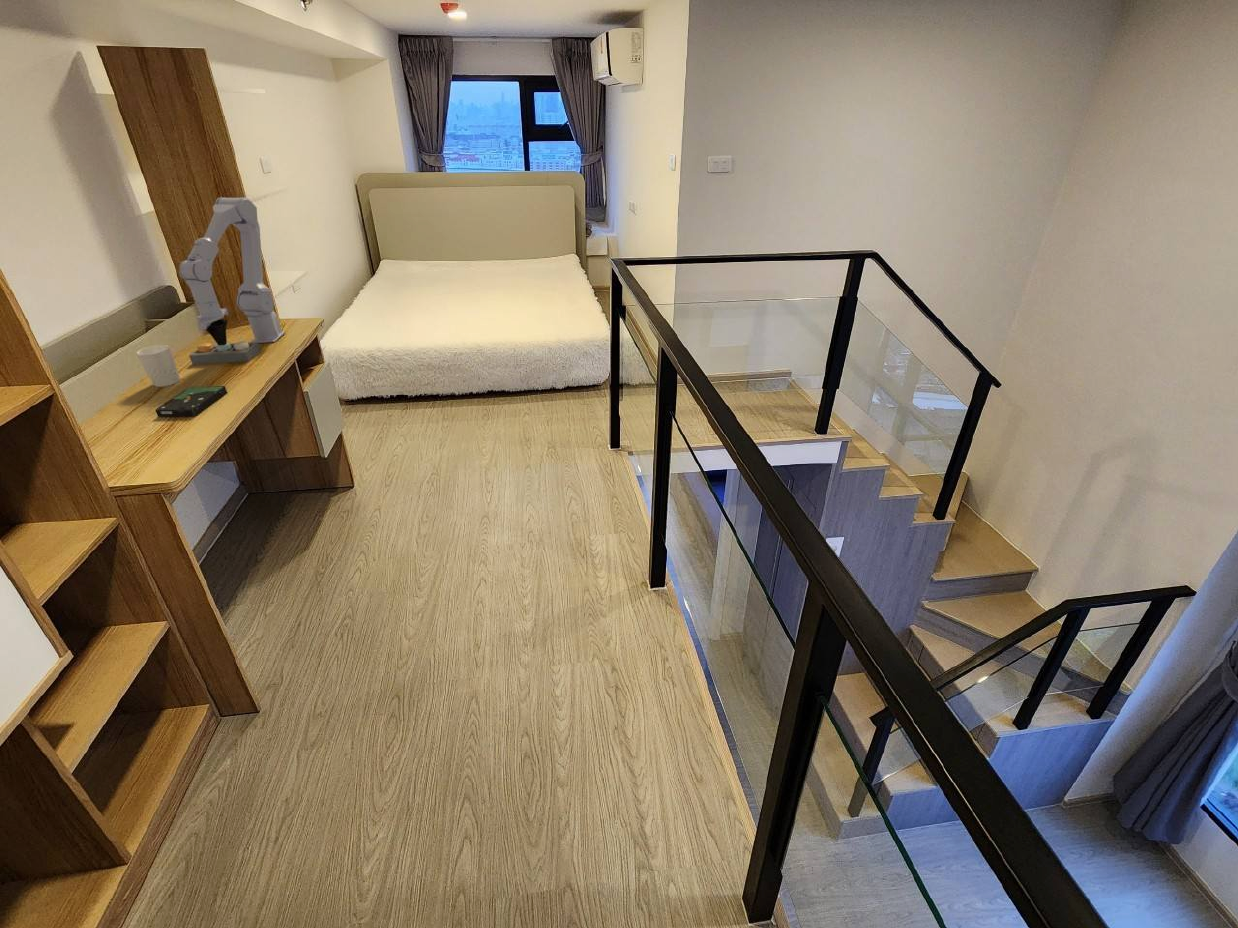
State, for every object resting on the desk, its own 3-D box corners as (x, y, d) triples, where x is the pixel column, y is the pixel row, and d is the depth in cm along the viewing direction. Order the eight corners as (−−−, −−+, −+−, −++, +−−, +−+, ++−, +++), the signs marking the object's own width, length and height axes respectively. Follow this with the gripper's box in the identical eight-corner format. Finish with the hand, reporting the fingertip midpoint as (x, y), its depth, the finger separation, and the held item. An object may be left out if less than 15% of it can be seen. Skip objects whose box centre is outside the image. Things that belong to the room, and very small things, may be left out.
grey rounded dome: (222, 350, 199) (219, 342, 198) (235, 349, 199) (232, 341, 198) (216, 355, 196) (212, 347, 195) (229, 354, 196) (226, 346, 195)
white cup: (189, 377, 186) (175, 344, 181) (170, 388, 179) (155, 354, 174) (164, 376, 187) (150, 344, 181) (144, 387, 180) (129, 354, 175)
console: (206, 354, 202) (203, 345, 201) (261, 351, 203) (258, 342, 201) (192, 364, 194) (188, 355, 193) (249, 361, 195) (245, 352, 194)
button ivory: (239, 349, 200) (237, 341, 198) (252, 348, 200) (250, 340, 198) (234, 354, 196) (231, 346, 195) (247, 353, 196) (244, 345, 195)
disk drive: (197, 419, 163) (229, 394, 175) (193, 409, 161) (225, 384, 174) (158, 419, 163) (192, 394, 176) (153, 410, 162) (188, 385, 174)
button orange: (204, 351, 199) (201, 343, 198) (217, 350, 199) (214, 342, 198) (197, 356, 196) (194, 348, 194) (211, 355, 196) (207, 347, 194)
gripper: (204, 295, 195) (220, 337, 202) (180, 309, 183) (197, 353, 190) (228, 294, 196) (242, 336, 203) (205, 308, 183) (221, 352, 190)
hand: (222, 344), depth 196 cm, fingers closed, pressing on grey rounded dome
